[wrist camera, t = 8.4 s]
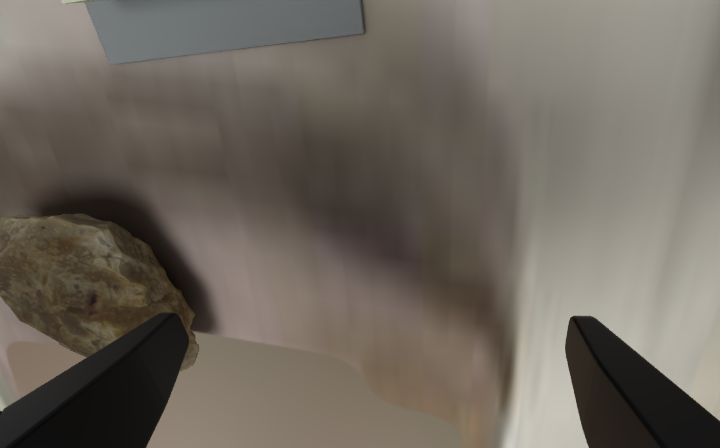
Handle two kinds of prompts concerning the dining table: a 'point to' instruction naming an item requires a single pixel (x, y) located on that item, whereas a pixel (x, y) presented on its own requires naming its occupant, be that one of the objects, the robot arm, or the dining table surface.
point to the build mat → (215, 25)
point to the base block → (77, 1)
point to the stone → (84, 281)
